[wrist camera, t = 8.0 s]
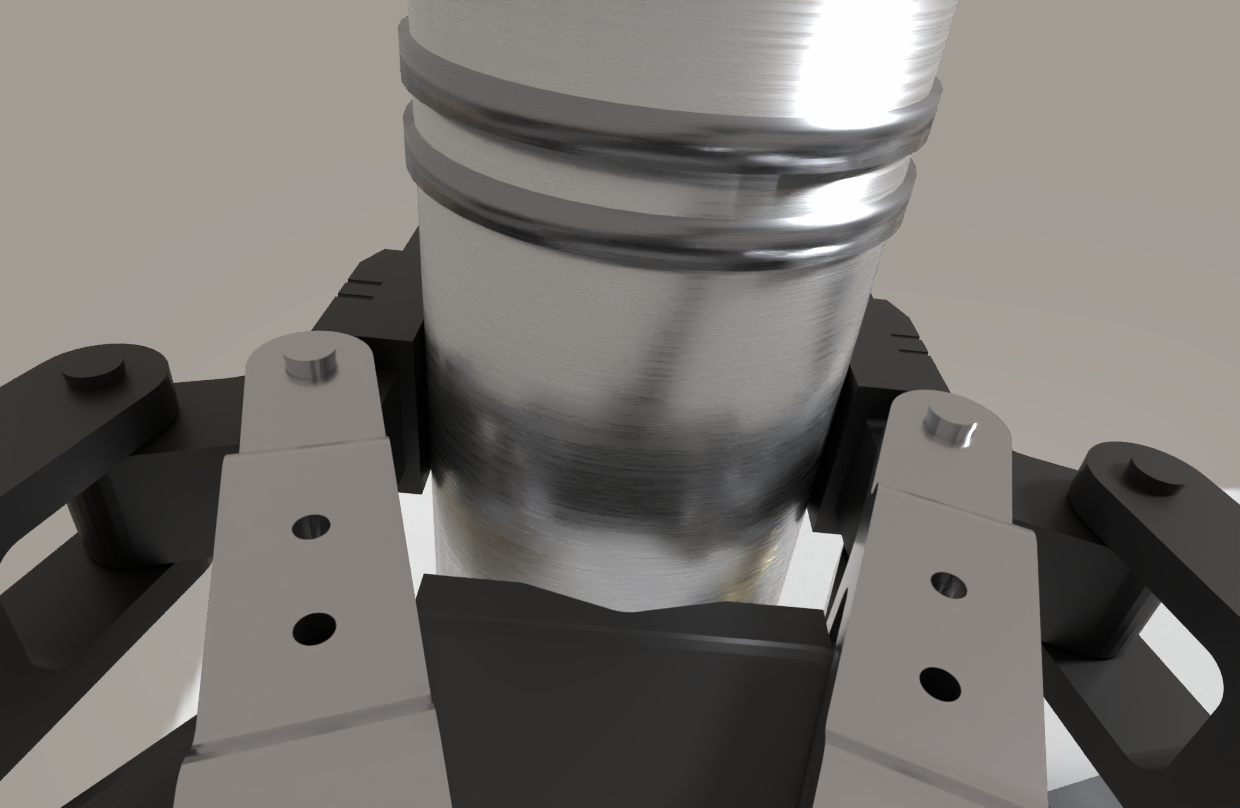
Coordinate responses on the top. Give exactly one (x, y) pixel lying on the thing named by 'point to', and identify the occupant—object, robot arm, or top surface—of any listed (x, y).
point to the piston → (650, 273)
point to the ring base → (1084, 795)
